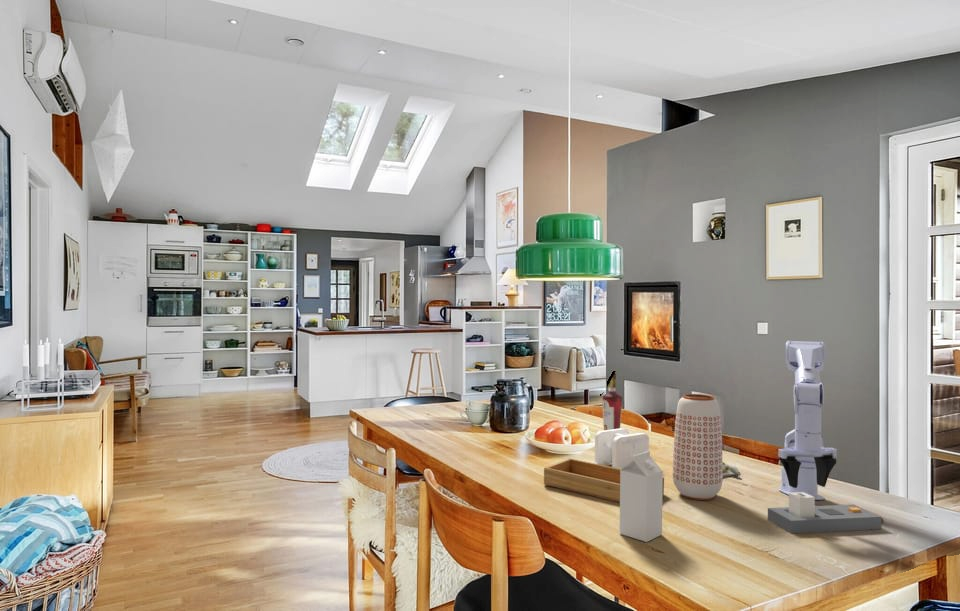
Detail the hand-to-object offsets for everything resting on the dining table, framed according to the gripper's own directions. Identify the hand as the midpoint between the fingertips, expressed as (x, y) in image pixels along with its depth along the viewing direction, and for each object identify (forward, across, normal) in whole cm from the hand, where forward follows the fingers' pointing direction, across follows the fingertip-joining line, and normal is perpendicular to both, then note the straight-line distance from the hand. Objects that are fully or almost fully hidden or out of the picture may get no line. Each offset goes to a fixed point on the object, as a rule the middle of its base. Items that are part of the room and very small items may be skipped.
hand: (807, 486), depth 150 cm
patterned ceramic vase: (+10, -16, +24) cm, 30 cm away
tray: (+10, -41, +32) cm, 53 cm away
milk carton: (+9, -44, -2) cm, 45 cm away
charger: (+9, -2, -1) cm, 9 cm away
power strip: (+9, +6, -1) cm, 11 cm away
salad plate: (+10, 0, +49) cm, 50 cm away
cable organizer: (+10, -26, +55) cm, 62 cm away
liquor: (+10, -20, +83) cm, 86 cm away
